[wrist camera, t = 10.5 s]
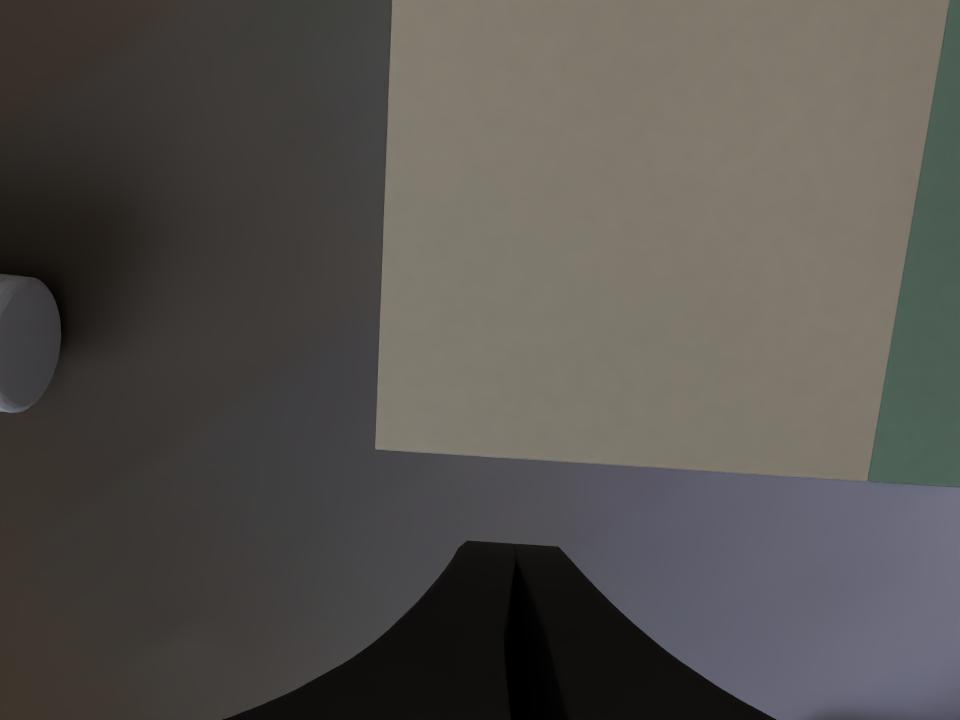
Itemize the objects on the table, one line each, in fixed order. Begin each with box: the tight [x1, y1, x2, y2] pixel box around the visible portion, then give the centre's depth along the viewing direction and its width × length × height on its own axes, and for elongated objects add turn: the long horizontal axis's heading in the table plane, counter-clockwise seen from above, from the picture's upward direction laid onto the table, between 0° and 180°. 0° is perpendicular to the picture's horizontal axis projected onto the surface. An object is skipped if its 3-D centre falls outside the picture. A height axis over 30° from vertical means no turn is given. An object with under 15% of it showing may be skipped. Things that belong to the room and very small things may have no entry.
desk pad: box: [375, 0, 960, 487], centre depth 19 cm, size 14×24×1 cm, turn 86°
